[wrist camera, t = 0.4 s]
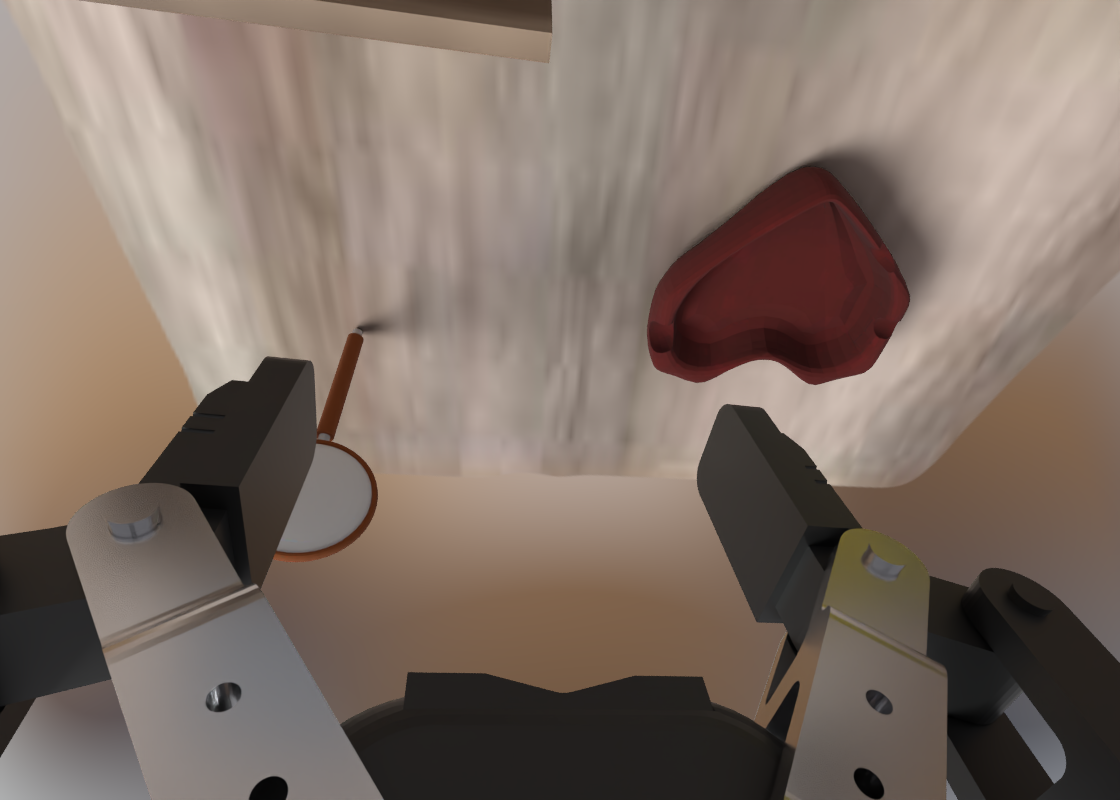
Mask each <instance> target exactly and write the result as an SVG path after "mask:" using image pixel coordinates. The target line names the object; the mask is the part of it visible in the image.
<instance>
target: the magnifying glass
mask: <svg viewBox="0 0 1120 800" xmlns="http://www.w3.org/2000/svg"><path fill="white" fill-rule="evenodd" d="M362 344H363V337H362V331H361V330H360V329H354V330H353V332H352V333H350V334H349V335H348V338H347V341H346V344H345V347H344V350H343V353H342V356H341V359H340V362H339V365H338V368H337V371H336V374H335V377H334V380H333V383H332V386H331V389H330V392H329V395H328V398H327V401H326V404H325V407H324V410H323V413H322V416H321V419H320V422H319V425H318V428H317V439H316V448H315V454H314V458H313V462H312V464H311V467H310V469H309V472H308V474H307V477H306V479H305V482H304V484H303V487H302V489H301V491H300V494H299V496H298V499H297V501H296V504H295V506H294V509H293V511H292V513H291V516H290V518H289V521H288V523H287V526H286V528H285V531H284V533H283V535H282V538H281V540H280V543H279V545H278V548H277V550H276V553H275V555H274V557H273V559H274V560H279V561H286V562H304V561H305V562H306V561H312V560H317V559H321V558H324V557H328V556H330V555H332V554H335V553H337V552H339V551H340V550H342V549H344V548H346V547H347V546H349V545H350V544H352V543H353V542H354V541H355V540H356V539H357V538H358V537H360V535H361V534H362V533H363V532H364V531H365V530H366V528H367V527H368V525H369V523H370V522H371V520H372V518H373V515H374V513H375V509H376V506H377V500H378V490H377V484H376V480H375V477H374V475H373V473H372V471H371V469H370V467H369V466H368V465H367V463H366V462H365V461H364V460H363V459H362V458H361V457H360V456H359V455H357V454H356V453H355V452H353V451H352V450H350V449H348V448H347V447H345V446H342V445H340V444H337V443H334V442H331V441H332V440H333V439H334V436H335V433H336V429H337V426H338V423H339V419H340V416H341V413H342V410H343V406H344V403H345V400H346V396H347V393H348V390H349V386H350V383H351V380H352V377H353V373H354V370H355V367H356V363H357V360H358V357H359V353H360V350H361V347H362Z"/></svg>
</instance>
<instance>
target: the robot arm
mask: <svg viewBox="0 0 1120 800" xmlns="http://www.w3.org/2000/svg"><path fill="white" fill-rule="evenodd" d="M316 439H317V424H316V401H315V379H314V367H313V364H312V362H311V361H308V360H298V359H289V358H279V357H269V356H268V357H266V358H265V359H264V360H263V361H262V363H261V364H260V366H259V367H258V369H257V370H256V371H255V373H254V374H253V376H252V377H251V379H250V380H249V382H245V381H235V380H231V381H230V382H228V383H226V384H225V385H223V386H221V387H219V388H218V389H216V390H214V391H212V392H211V393H209V394H207V395H206V397H205V398H204V399H203V401H202V402H201V403H200V405H199V406H198V407H197V408H196V410H195V411H194V412H193V416H190V418H189V419H188V420H187V421H186V423H185V424H184V425H183V427H182V431H181V432H178V433H177V434H176V436H175V437H174V438H173V440H172V441H171V442H170V443H169V445H168V446H167V447H166V449H165V450H164V451H163V453H162V454H161V455H160V457H159V458H158V459H157V460H156V462H155V463H154V464H153V466H152V467H151V468H150V469H149V471H148V472H147V473H146V475H145V476H144V477H143V479H142V480H141V481H140V482H139V484H135V485H130V486H125V487H121V488H118V489H115V490H112V491H109V492H107V493H105V494H102V495H100V496H98V497H96V498H95V499H93V500H91V501H90V502H88V503H87V504H85V505H84V506H83V507H81V508H80V509H79V510H78V511H77V512H76V513H75V515H74V516H73V517H72V518H71V520H70V521H69V523H68V525H66V526H61V527H55V528H50V529H43V530H36V531H29V532H23V533H17V534H9V535H3V536H0V757H1V755H2V754H3V752H4V750H5V749H6V747H7V745H8V744H9V742H10V740H11V739H12V737H13V735H14V734H15V732H16V730H17V729H18V727H19V725H20V724H21V722H22V720H23V719H24V717H25V716H26V714H27V712H28V711H29V709H30V707H31V705H32V704H33V702H34V700H35V699H36V698H37V697H41V696H45V695H49V694H53V693H57V692H61V691H65V690H69V689H73V688H77V687H82V686H86V685H89V684H93V683H97V682H101V681H106V680H110V679H112V681H113V684H114V688H115V690H116V694H117V697H118V700H119V702H120V706H121V709H122V712H123V715H124V718H125V721H126V724H127V727H128V730H129V733H130V736H131V739H132V742H133V746H134V748H135V752H136V755H137V758H138V761H139V764H140V767H141V770H142V773H143V776H144V779H145V782H146V785H147V788H148V791H149V794H150V797H151V800H946V779H947V781H948V783H949V784H950V786H951V788H952V790H953V791H954V793H955V795H956V797H957V799H958V800H1120V663H1119V662H1118V661H1117V660H1116V659H1115V657H1114V656H1113V655H1112V654H1111V653H1110V652H1109V651H1108V650H1107V649H1106V648H1105V647H1104V646H1103V645H1102V644H1101V642H1100V641H1099V640H1098V639H1097V638H1096V637H1095V636H1094V635H1093V634H1092V633H1091V632H1090V631H1089V630H1088V629H1087V628H1086V626H1085V625H1084V624H1083V623H1082V622H1081V621H1080V620H1079V619H1078V618H1077V617H1076V616H1075V615H1074V614H1073V612H1072V611H1071V610H1070V609H1069V608H1068V607H1067V606H1066V605H1065V604H1064V603H1063V602H1062V601H1061V600H1060V599H1059V598H1057V597H1056V596H1055V595H1054V594H1053V593H1051V592H1050V591H1049V590H1047V589H1046V588H1044V587H1042V586H1041V585H1040V584H1038V583H1036V582H1034V581H1033V580H1031V579H1029V578H1027V577H1025V576H1022V575H1020V574H1018V573H1015V572H1012V571H1009V570H1005V569H999V568H989V569H985V570H983V571H982V572H981V573H980V574H979V576H978V577H977V578H976V579H975V581H974V582H973V583H972V585H971V586H970V587H965V586H962V585H959V584H955V583H952V582H949V581H945V580H942V579H939V578H935V577H932V576H929V574H928V571H927V569H926V568H925V566H924V564H923V563H922V562H921V560H920V559H919V558H918V557H917V556H916V555H915V554H914V553H913V552H912V551H911V550H909V549H908V548H907V547H905V546H904V545H903V544H901V543H899V542H898V541H896V540H895V539H892V538H890V537H889V536H886V535H884V534H882V533H878V532H876V531H872V530H867V529H863V528H862V527H861V526H860V524H859V523H858V522H857V520H856V519H855V518H854V516H853V515H852V514H851V512H850V511H849V509H848V508H847V507H846V506H845V504H844V503H843V501H842V500H841V499H840V497H839V496H838V495H837V493H836V492H835V491H834V489H833V488H832V486H831V485H830V484H827V480H826V478H825V477H824V476H823V474H822V473H821V472H820V470H817V469H816V467H817V466H816V465H815V464H814V462H813V461H812V459H811V458H810V457H809V455H808V454H807V453H806V451H805V450H804V449H803V448H802V447H800V446H799V445H798V444H797V443H795V442H794V441H793V440H791V439H790V438H789V437H788V436H786V435H785V434H784V433H781V432H780V431H779V430H778V428H777V427H776V425H775V424H774V423H773V421H772V420H771V418H770V417H769V416H768V414H767V413H766V411H765V410H764V409H762V408H760V407H750V406H740V405H730V404H726V405H724V406H723V407H722V408H721V409H720V410H719V412H718V414H717V417H716V420H715V422H714V425H713V428H712V430H711V433H710V436H709V438H708V441H707V444H706V446H705V449H704V452H703V454H702V457H701V460H700V463H699V466H698V471H697V485H698V490H699V494H700V496H701V498H702V501H703V502H704V505H705V507H706V510H707V512H708V514H709V516H710V519H711V521H712V523H713V525H714V527H715V530H716V532H717V534H718V536H719V539H720V541H721V543H722V545H723V547H724V550H725V552H726V554H727V557H728V559H729V561H730V563H731V566H732V567H733V570H734V572H735V574H736V577H737V579H738V581H739V584H740V586H741V588H742V590H743V592H744V595H745V597H746V599H747V601H748V604H749V606H750V608H751V610H752V613H753V615H754V617H755V619H756V621H757V622H765V623H783V624H784V626H785V627H786V630H787V631H786V633H785V635H784V637H783V639H782V640H781V642H780V644H779V647H778V651H777V653H776V656H775V659H774V662H773V665H772V668H771V671H770V674H769V677H768V681H767V684H766V686H765V689H764V692H763V695H762V698H761V701H760V704H759V707H758V710H757V713H756V716H755V719H754V721H753V720H751V719H749V718H747V717H746V716H744V715H742V714H740V713H738V712H736V711H734V710H731V709H729V708H726V707H724V706H721V705H719V704H716V703H713V702H711V701H710V698H709V695H708V693H707V689H706V686H705V683H704V680H703V677H681V676H680V677H677V676H632V677H628V678H624V679H621V680H617V681H613V682H609V683H605V684H602V685H597V686H593V687H589V688H586V689H582V690H578V691H574V692H569V693H558V692H554V691H550V690H546V689H542V688H539V687H534V686H531V685H527V684H523V683H519V682H516V681H511V680H508V679H504V678H500V677H496V676H493V675H489V674H482V673H477V674H476V673H415V672H409V673H408V675H407V683H406V691H405V697H404V698H400V699H396V700H392V701H389V702H386V703H383V704H381V705H378V706H375V707H372V708H370V709H367V710H365V711H363V712H361V713H359V714H357V715H355V716H353V717H351V718H350V719H348V720H346V721H345V722H343V723H342V724H339V722H338V720H337V719H336V717H335V715H334V714H333V712H332V710H331V709H330V707H329V705H328V703H327V702H326V700H325V698H324V697H323V695H322V693H321V692H320V690H319V688H318V686H317V685H316V683H315V681H314V679H313V678H312V676H311V674H310V673H309V671H308V669H307V668H306V666H305V664H304V662H303V661H302V659H301V657H300V655H299V654H298V652H297V650H296V649H295V648H294V645H293V644H292V642H291V640H290V638H289V637H288V635H287V634H286V632H285V630H284V628H283V626H282V625H281V623H280V621H279V620H278V618H277V616H276V614H275V613H274V611H273V609H272V608H271V606H270V604H269V602H268V601H267V599H266V598H265V596H264V594H263V593H262V591H261V590H260V589H261V587H262V584H263V582H264V579H265V577H266V575H267V572H268V569H269V567H270V565H271V562H272V560H273V557H274V555H275V553H276V550H277V548H278V545H279V543H280V540H281V538H282V535H283V533H284V531H285V528H286V526H287V523H288V521H289V518H290V516H291V513H292V511H293V509H294V506H295V504H296V501H297V499H298V496H299V494H300V491H301V489H302V487H303V484H304V482H305V479H306V477H307V474H308V472H309V469H310V467H311V464H312V462H313V458H314V454H315V448H316ZM1023 692H1024V693H1025V694H1026V695H1027V697H1028V698H1029V700H1030V701H1031V702H1032V703H1033V705H1034V706H1035V707H1036V709H1037V710H1038V712H1039V713H1040V714H1041V715H1042V717H1043V718H1044V720H1045V721H1046V722H1047V724H1048V725H1049V726H1050V728H1051V729H1052V730H1053V732H1054V733H1055V734H1056V736H1057V737H1058V739H1059V740H1060V742H1061V744H1062V746H1063V749H1064V751H1065V756H1066V770H1065V773H1064V775H1063V777H1062V778H1061V779H1060V780H1059V781H1057V782H1056V783H1055V784H1054V783H1053V782H1052V780H1051V779H1050V777H1049V776H1048V775H1047V773H1046V772H1045V770H1044V769H1043V767H1042V766H1041V764H1040V763H1039V762H1038V760H1037V759H1036V757H1035V756H1034V754H1033V753H1032V752H1031V750H1030V749H1029V747H1028V746H1027V744H1026V743H1025V742H1024V740H1023V739H1022V737H1021V736H1020V735H1019V733H1018V731H1017V730H1016V729H1015V727H1014V726H1013V724H1012V723H1011V721H1010V720H1009V718H1008V717H1007V716H1006V714H1005V713H1004V711H1005V710H1006V709H1007V708H1008V707H1009V706H1010V705H1011V704H1012V703H1013V702H1014V701H1015V700H1016V699H1017V698H1018V697H1019V696H1020V695H1021V694H1022V693H1023Z"/></svg>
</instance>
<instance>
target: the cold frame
mask: <svg viewBox="0 0 1120 800" xmlns="http://www.w3.org/2000/svg"><path fill="white" fill-rule="evenodd" d="M81 1H88V2H96V3H103V4H111V5H118V6H126V7H133V8H141V9H148V10H156V11H163V12H171V13H178V14H186V15H193V16H200V17H208V18H215V19H223V20H230V21H238V22H245V23H253V24H260V25H268V26H275V27H283V28H290V29H298V30H305V31H313V32H320V33H327V34H335V35H342V36H350V37H357V38H365V39H372V40H380V41H387V42H395V43H402V44H410V45H417V46H425V47H432V48H440V49H447V50H454V51H462V52H469V53H477V54H484V55H492V56H499V57H507V58H514V59H522V60H529V61H537V62H544V63H549V59H550V50H551V40H552V4H551V0H81Z"/></svg>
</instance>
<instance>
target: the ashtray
mask: <svg viewBox="0 0 1120 800" xmlns="http://www.w3.org/2000/svg"><path fill="white" fill-rule="evenodd" d="M909 302H910V294H909V292H908V289H907V286H906V282H905V280H904V278H903V276H902V274H901V272H900V270H899V268H898V266H897V264H896V262H895V260H894V259H893V257H892V255H891V253H890V252H889V250H888V249H887V247H886V246H885V244H884V243H883V241H882V239H881V238H880V236H879V235H878V233H877V232H876V230H875V229H874V227H873V226H872V224H871V223H870V222H869V220H868V219H867V217H866V216H865V214H864V213H863V211H862V210H861V209H860V207H859V206H858V205H857V203H856V202H855V201H854V199H853V198H852V197H851V196H850V194H849V193H848V192H847V191H846V189H845V188H844V187H843V186H842V185H841V183H840V182H839V181H838V180H837V179H836V178H835V177H834V176H833V175H832V174H831V173H830V172H828V171H827V170H825V169H823V168H819V167H803V168H801V169H798V170H796V171H794V172H791V173H789V174H787V175H785V176H784V177H783V178H781V179H780V180H778V181H777V182H776V183H774V184H772V185H771V186H769V187H768V188H767V189H766V190H764V191H763V192H762V193H760V194H759V195H758V196H756V197H755V198H754V199H753V200H752V201H750V202H749V203H748V204H747V205H746V206H745V207H743V208H742V209H741V210H740V211H739V212H738V213H737V214H735V215H734V216H733V217H732V218H730V219H729V220H728V221H727V222H726V223H724V224H723V225H722V226H721V227H719V228H718V229H717V230H716V231H714V232H713V233H712V234H711V235H709V236H708V237H707V238H706V239H704V240H703V241H702V242H701V243H699V244H698V245H696V246H695V247H693V248H692V249H691V250H689V251H688V252H687V253H685V254H684V255H683V256H681V257H680V258H679V259H677V261H676V262H675V263H674V264H673V265H672V266H671V267H670V268H669V269H668V271H667V272H666V273H665V275H664V276H663V278H662V279H661V280H660V282H659V284H658V286H657V288H656V290H655V293H654V297H653V300H652V304H651V308H650V313H649V318H648V325H647V339H648V348H649V353H650V356H651V359H652V362H653V365H654V366H655V368H656V369H657V370H659V371H661V372H664V373H667V374H671V375H674V376H677V377H679V378H682V379H684V380H687V381H691V382H695V383H699V382H706V381H708V380H711V379H713V378H715V377H717V376H719V375H721V374H723V373H724V372H726V371H728V370H730V369H733V368H735V367H737V366H739V365H742V364H744V363H747V362H750V361H755V360H773V361H776V362H779V363H780V364H782V365H784V366H785V367H787V368H788V369H789V370H791V371H792V372H793V373H794V374H795V375H796V376H798V377H799V378H800V379H801V380H803V381H805V382H806V383H808V384H813V385H818V384H822V383H825V382H829V381H832V380H836V379H840V378H845V377H849V376H854V375H858V374H862V373H865V372H866V371H867V370H869V369H870V368H871V367H872V366H873V365H874V363H875V362H876V360H877V359H878V357H879V356H880V354H881V352H882V351H883V349H884V348H885V346H886V344H887V342H888V341H889V339H890V337H891V335H892V333H893V331H894V328H895V326H896V325H897V323H898V322H899V321H901V319H902V318H903V316H904V314H905V312H906V310H907V308H908V306H909Z"/></svg>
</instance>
